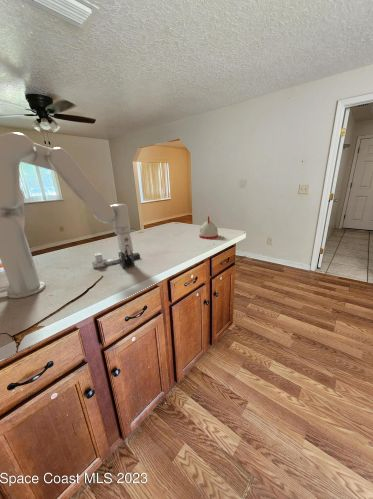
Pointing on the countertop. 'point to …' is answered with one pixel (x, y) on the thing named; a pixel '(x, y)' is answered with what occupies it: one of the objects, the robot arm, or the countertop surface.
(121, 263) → the socket
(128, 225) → the robot arm
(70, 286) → the countertop surface
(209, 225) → the grey bell
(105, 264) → the ratchet
